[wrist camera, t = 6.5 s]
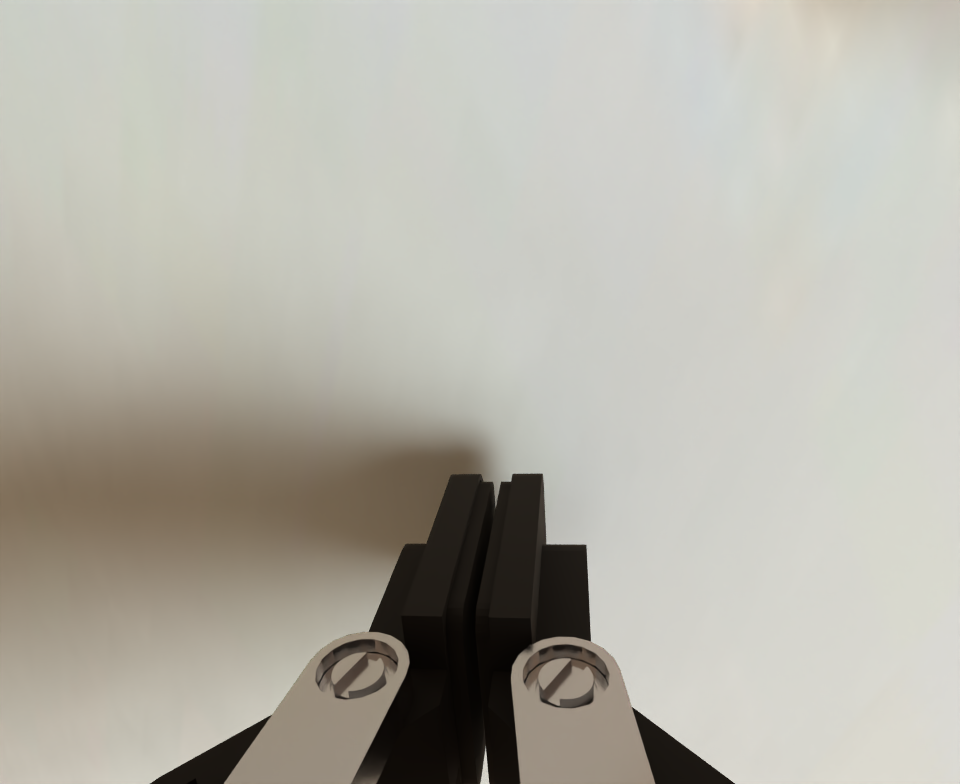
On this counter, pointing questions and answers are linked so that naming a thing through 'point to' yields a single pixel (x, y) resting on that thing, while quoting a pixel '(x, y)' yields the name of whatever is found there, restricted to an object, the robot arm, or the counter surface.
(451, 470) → the counter surface
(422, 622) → the robot arm
